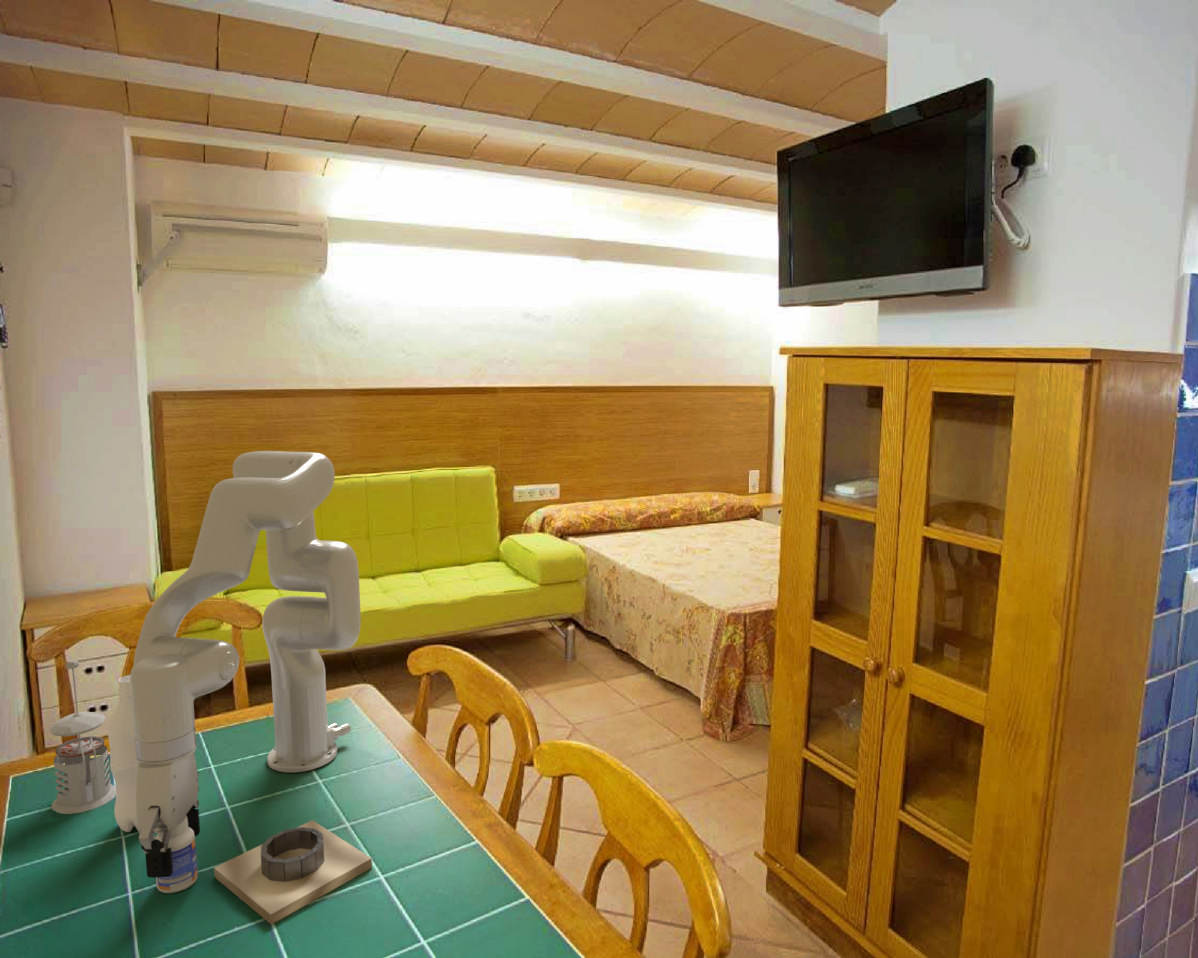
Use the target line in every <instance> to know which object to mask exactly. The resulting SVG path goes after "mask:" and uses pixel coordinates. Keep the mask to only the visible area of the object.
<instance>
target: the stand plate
mask: <svg viewBox="0 0 1198 958" xmlns="http://www.w3.org/2000/svg"><path fill="white" fill-rule="evenodd" d="M298 827H305V828H314V829H316V830H317V831H319V832H321V833H322V834H323V843H324V862H323V863H322V865H321V866H320V867H319V868H318V870H316V871H315V872H313V873H311V874H310V875H308V876H306V877H304V878H302V879H297V880H292V881H288V882H280V881H271V880H269V879H268V878H266V877H265V876H264V875H263V874H262V867H261V846H262V845H263V844H264V843H261V844H260V845H258V846H256V847H253V848H252V849H250V850H248V851H245V852H244V853H242V854H239V855H238V856H235V857H233V858H231V859H229V860H226V861H225V862H223V863H220V864H219V865H216V866H215V867H213V872H214V875H213V876H214V878H215V879H216V880H217V881H218V882H220V883H221V884H222V885H223V886H225V887H226V889H228V890H230V892H231V893H233V894H234V895H235V896H237V897H238V898H239V899H240V900H241V901H242V902H244V903H245V904H246V905H247V906H248V907H249V908H251V909H252V910H253V911H254V912H256V913H257V914H258V915H259V916H260V917H262V918H263V919H264V920H265V921H266V922H267V923H269V925H273V924H275V923H277V922H279V921H280V920H282V919H284V918H286V917H288V916H289V915H291V914H293V913H294V912H297V911H298V910H299V909H301V908H303V907H305V906H307V905H309V904H311V903H312V902H314V901H316V900H317V899H319V898H321V897H323V896H324V895H327V894H328V893H330V892H332V891H334V890H335V889H337V888H338V887H340V886H343V885H344V884H346V883H347V882H349V881H351V880H353V879H354V878H357V877H358V876H359V875H362V874H363V873H365V872H366V871H369V870H371V869H372V868H373V860H372V857H370V856H369V855H367V854H366V853H365V852H363V851H361V850H360V849H358V848H356V847H354V845H351V844H350V843H348V842H347V841H346V840H344V839H342V838H340V837H339V836H338V835H336V834H335V833H333V832H331V831H330V830H329V829H327V828H325V827H324V826H322V825H320V824H319V823H318V822H317V821H314V820H310V821H308V822H306V823H303V824H301V825H299V826H297V827H296V828H298ZM309 851H311V849H301V848H299V849H294V850H289V851H286V852H284V853H282V854H280V855H278V856H276V857H275V858H279V859H289V858H294V857H299V856H301V855H303V854H305V853H307V852H309Z"/></svg>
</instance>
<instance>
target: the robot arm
mask: <svg viewBox="0 0 1198 958" xmlns="http://www.w3.org/2000/svg"><path fill="white" fill-rule="evenodd" d="M232 464H233V465H232V476H233V478H232V477H231V478H227V479H223V480H221V481H219V482H217V483H216V484H215V486H214V487H213V488H212V490H211V492H210V495H209V499H208V501H207V506H206V508H205V513H204V515H203V516H204V517H203V520H202V523H201V527H200V530H199V534H198V539H197V541H196V544H195V548H194V552H193V555H192V560H191V562H190V565H189V567H188V568H187V570H186V571H184V572H183V573H182V574H181V575H180V576H179V577H178V578H176V579H175V580H174V581H173V582H172V583H171V584H169V585H168V587H167V588H166V589H165V590H164V591H163V592H162V594H160V595H159V597H158V598H157V599H156V600H155V601H154V603H153V604H152V605H151V606H150V608H149V609H148V612H146V613H147V614H146V616H145V618H144V620H143V623H142V627H141V629H140V634H139V637H138V640H137V645H136V648H135V652H134V657H133V658H134V660H133V667H132V668H131V670H130V674H129V675H130V685H131V697H132V709H133V720H134V731H135V745H136V756H137V761H138V762H139V763H140V764H139V766H138V772H137V783H136V812H137V828H136V830H137V829H138V830H137V832H138V833H139V834H138V841H139V842H140V845H141V846H140V848H141V849H142V850H143V854H144V855H145V865H146V876H147V878H150V879H151V878H156V877H169V876H171V875H172V873H173V866H172V853H171V848H168V844H169V839H170V834H171V831H172V830H174V829H175V828H176V827H177V826H178V825H179V823H180V822H181V821H182V819H183V818H184V817H185V815H186V816H187V820H188V827H190V828H191V829H192V830H193V831H194V836H195V837H196V836H199V835H200V833H201V826H200V811H199V810H200V809H199V805H200V800H199V799H198V796H199V791H200V790H199V789H200V787H199V775H200V773H199V772H200V771H198V767H197V760H196V755H195V754H196V753H195V751H196V750H197V734H196V733H197V732H196V724H195V723H196V722H195V721H196V720H195V709H194V706H195V705H194V701H195V699H197V698H199V697H202V696H205V695H207V694H210V693H213V692H215V691H219V690H220V689H222V688H224V687H225V686H227V685H228V684H229V683H230V682H231V681H232V680H233V678H234V677H235V675H236V674H237V672H238V670H239V665H240V655H239V652H238V651H237V648H236V647H235V646H234V645H233V644H231V643H230V642H228V641H225V640H220V639H214V638H213V639H212V638H196V637H181V636H180V637H178V636H177V633H178V630H179V628H180V626H181V623H182V622H183V620H184V619H185V618H186V617H187V614H188V613H190V612H191V610H193V608H195V607H196V606H197V605H199V604H200V603H202V602H203V601H205V600H207V599H208V598H210V597H212V596H216V595H218V594H220V593H221V592H224V591H227V590H229V589H232V588H234V587H236V586H238V585H240V584H242V583H244V582H245V581H246V580H247V579H248V577H249V575H250V571H251V568H252V563H253V558H254V556H255V550H256V547H257V543H258V540H259V536H260V532H261V531H265V537H266V554H267V568H268V577H269V579H270V580H269V581H270V583H271V584H272V586H273V587H274V588H276V589H279V590H281V591H289V592H301V593H303V592H306V593H323V594H324V595H325V597H320V596H319V597H318V596H303V595H301V596H300V595H289V596H283V597H282V596H281V597H278V598H276V599H275V600H272V601H271V602H269V604H268V605H267V606H266V608H265V610H264V611H263V612H264V613H263V614H262V620H261V623H262V632H263V636H264V640H265V643H266V647H267V650H268V654H269V656H268V657H269V661H270V662H269V663H270V673H271V690H272V692H271V693H272V694H271V695H272V706H273V707H272V708H273V709H272V710H273V711H272V712H273V724H274V725H273V726H274V741H275V742H274V745H275V747H274V748H272V749H271V750H270V751H269V752H268V754H267V760H266V761H267V765H268V767H269V768H270V769H272V770H274V771H277V772H280V773H302V772H303V773H304V772H307V771H308V772H309V771H311V770H316V769H319V768H321V767H323V766H325V765H327V764H329V763H330V762H331V761H332V760H334V759H335V758H336V756H337V755H338V745H337V743H336V742H335V741H336V740H338V738H339V737H342V736H345V735H347V734H349V733H351V732H352V731H351V730H352V728H351V725H350V724H349V723H344V724H341V725H339V726H338V724H337V723H332V724H330V725H328V707H327V706H328V705H327V683H326V682H327V681H326V667H325V666H326V665H325V663H324V660H323V658H322V656H321V654H320V651H319V650H325V651H327V650H328V651H329V650H330V651H340V650H341V651H342V650H343V651H344V650H347V649H350V648H351V647H353V646H354V645H355V644H356V642H357V641H358V638H359V635H360V632H361V631H360V630H361V617H362V616H361V596H360V595H361V592H360V591H361V590H360V572H359V562H358V558H357V554H356V552H355V550H354V549H353V548H352V546H350V545H349V544H348V543H347V542H343V541H337V540H321V539H318V537H317V533H316V524H315V522H316V521H315V515H314V511H315V510H316V509H317V508H318V507H320V506H321V504H322V503H324V501H325V500H326V498H328V497H329V494H330V493H331V491H332V489H333V487H334V483H335V477H336V473H335V468H334V467H335V466H334V465H333V462H332V461H331V460H330V459H329V457H327V456H326V455H325V454H323V453H319V452H312V451H311V452H310V451H282V450H279V451H278V450H258V451H256V450H255V451H250V452H244V453H243V454H239V455H238V456H237V457H235V460H234V461H233V463H232ZM158 823H164V825H166V827H156V825H157V824H158ZM157 833H163V838H162V842H161V841H159V840H158V839H154V838H155V837H156V836H155V834H157Z"/></svg>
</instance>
